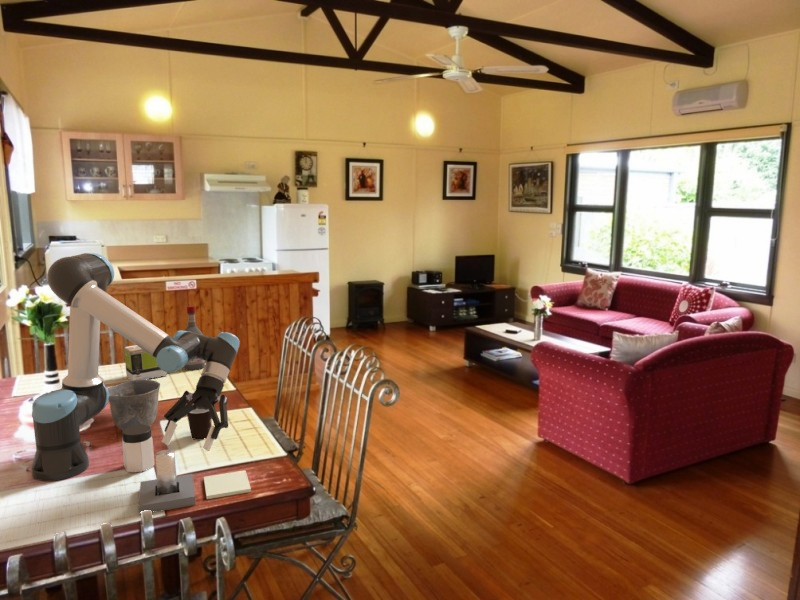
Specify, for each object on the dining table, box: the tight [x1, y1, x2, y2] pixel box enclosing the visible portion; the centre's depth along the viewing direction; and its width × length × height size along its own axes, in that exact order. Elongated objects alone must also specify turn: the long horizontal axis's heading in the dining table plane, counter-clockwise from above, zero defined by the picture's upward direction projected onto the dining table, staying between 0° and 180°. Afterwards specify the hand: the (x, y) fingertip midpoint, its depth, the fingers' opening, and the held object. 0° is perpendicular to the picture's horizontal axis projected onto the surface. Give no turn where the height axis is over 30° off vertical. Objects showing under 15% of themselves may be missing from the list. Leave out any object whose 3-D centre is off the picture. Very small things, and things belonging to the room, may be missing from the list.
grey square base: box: [138, 473, 196, 514], centre depth 164 cm, size 14×14×2 cm
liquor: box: [183, 305, 206, 371], centre depth 283 cm, size 9×9×30 cm
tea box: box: [123, 344, 168, 381], centre depth 269 cm, size 15×10×15 cm, turn 130°
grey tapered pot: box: [107, 379, 161, 431], centre depth 212 cm, size 18×18×15 cm
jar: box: [121, 425, 155, 473], centre depth 182 cm, size 9×8×12 cm
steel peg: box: [154, 449, 178, 496], centre depth 163 cm, size 5×5×13 cm
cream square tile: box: [203, 469, 252, 500], centre depth 171 cm, size 12×12×1 cm
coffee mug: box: [186, 408, 213, 440], centre depth 206 cm, size 12×9×10 cm
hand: (185, 446), depth 169 cm, fingers open, 13 cm apart
